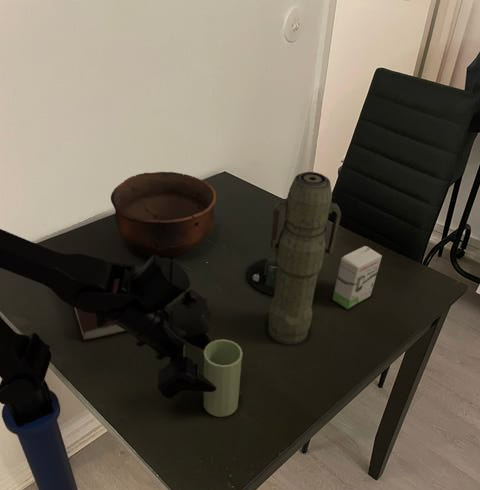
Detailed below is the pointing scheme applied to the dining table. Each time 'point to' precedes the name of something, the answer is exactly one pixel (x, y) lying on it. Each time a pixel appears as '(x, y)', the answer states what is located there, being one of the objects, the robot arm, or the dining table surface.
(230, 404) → the pencil cup
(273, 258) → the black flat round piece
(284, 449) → the dining table surface
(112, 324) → the book
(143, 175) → the bowl
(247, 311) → the dining table surface
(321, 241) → the thermos
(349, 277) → the ink box
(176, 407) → the dining table surface
